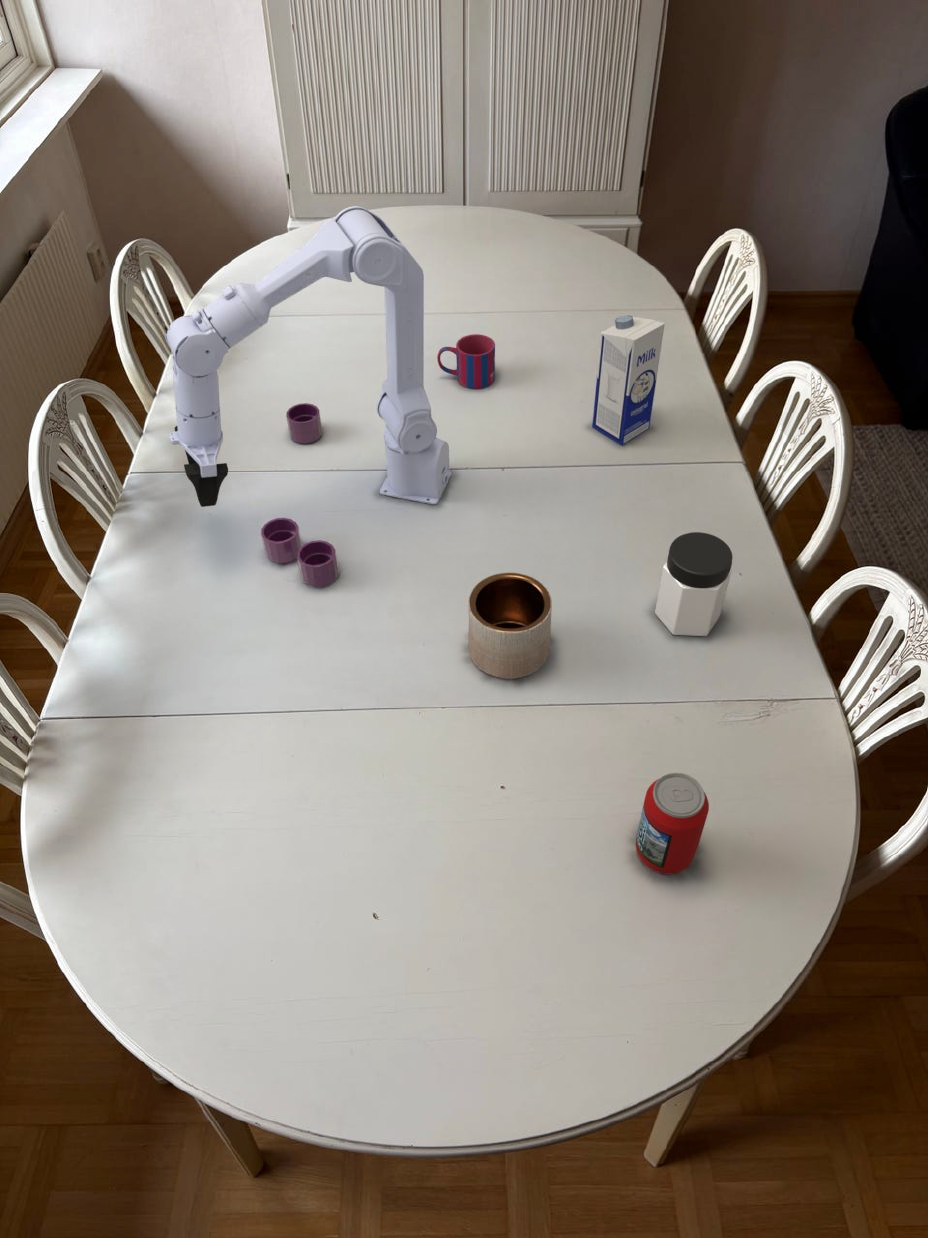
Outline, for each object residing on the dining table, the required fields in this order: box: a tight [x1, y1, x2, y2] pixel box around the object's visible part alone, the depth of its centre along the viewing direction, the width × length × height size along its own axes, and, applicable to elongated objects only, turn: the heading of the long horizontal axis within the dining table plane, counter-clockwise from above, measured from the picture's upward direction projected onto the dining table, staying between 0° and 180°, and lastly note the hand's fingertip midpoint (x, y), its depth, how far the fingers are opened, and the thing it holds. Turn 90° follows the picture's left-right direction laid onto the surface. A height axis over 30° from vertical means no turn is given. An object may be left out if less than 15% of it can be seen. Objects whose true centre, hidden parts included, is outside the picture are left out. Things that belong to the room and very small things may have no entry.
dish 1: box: [260, 517, 303, 565], centre depth 146 cm, size 5×5×4 cm
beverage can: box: [635, 772, 710, 875], centre depth 109 cm, size 7×7×12 cm
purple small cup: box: [296, 539, 340, 588], centre depth 143 cm, size 5×5×4 cm
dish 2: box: [285, 402, 323, 445], centre depth 165 cm, size 5×5×4 cm
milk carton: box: [591, 315, 666, 447], centre depth 159 cm, size 7×7×20 cm
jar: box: [654, 531, 733, 637], centre depth 134 cm, size 9×8×12 cm
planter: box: [467, 572, 553, 680], centre depth 131 cm, size 11×11×10 cm
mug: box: [436, 333, 496, 390], centre depth 174 cm, size 7×10×7 cm
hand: (203, 488), depth 142 cm, fingers open, 7 cm apart
